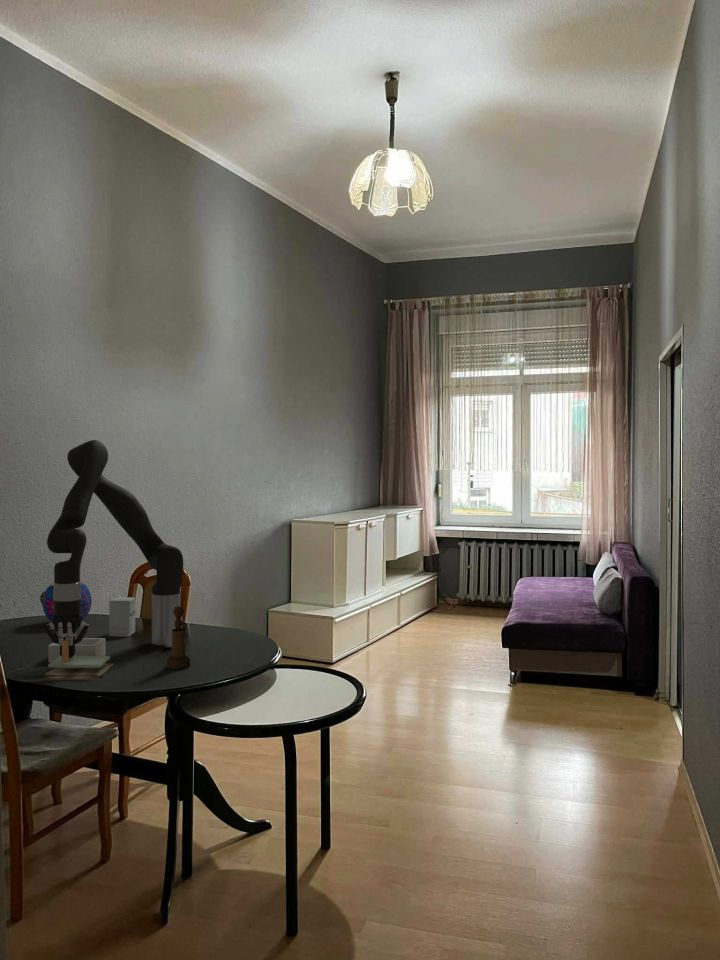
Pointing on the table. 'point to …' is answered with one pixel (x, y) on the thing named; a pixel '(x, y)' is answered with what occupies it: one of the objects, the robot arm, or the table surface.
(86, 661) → the lid
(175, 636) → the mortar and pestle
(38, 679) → the table surface
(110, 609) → the supplement box
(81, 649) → the tub
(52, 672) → the board
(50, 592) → the ceramic pot
